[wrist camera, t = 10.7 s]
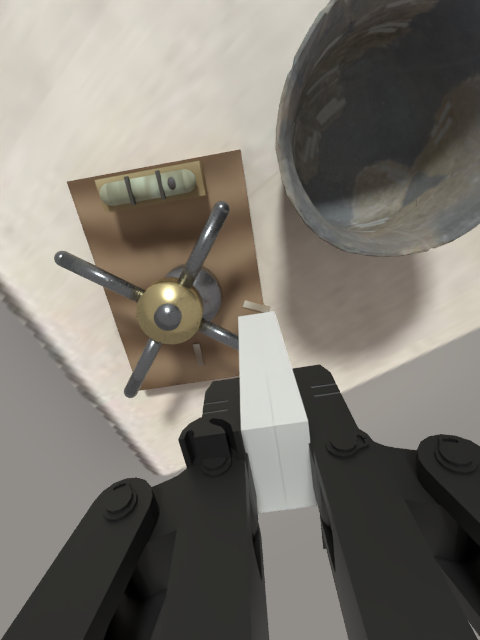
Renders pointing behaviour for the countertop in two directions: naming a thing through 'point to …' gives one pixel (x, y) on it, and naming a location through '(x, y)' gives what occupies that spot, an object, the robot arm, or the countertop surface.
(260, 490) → the robot arm
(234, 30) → the countertop surface
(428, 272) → the countertop surface
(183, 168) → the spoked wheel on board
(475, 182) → the grey stone bowl
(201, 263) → the cam capstan
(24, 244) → the countertop surface
